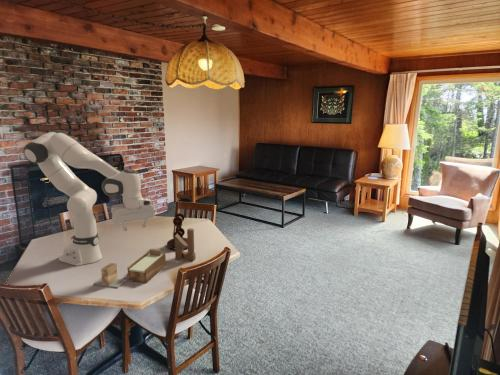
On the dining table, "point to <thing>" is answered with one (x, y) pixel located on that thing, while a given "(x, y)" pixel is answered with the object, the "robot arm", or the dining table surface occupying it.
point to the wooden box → (147, 270)
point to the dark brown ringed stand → (177, 230)
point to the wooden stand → (185, 246)
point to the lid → (146, 261)
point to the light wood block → (109, 274)
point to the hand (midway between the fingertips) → (134, 228)
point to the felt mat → (115, 284)
